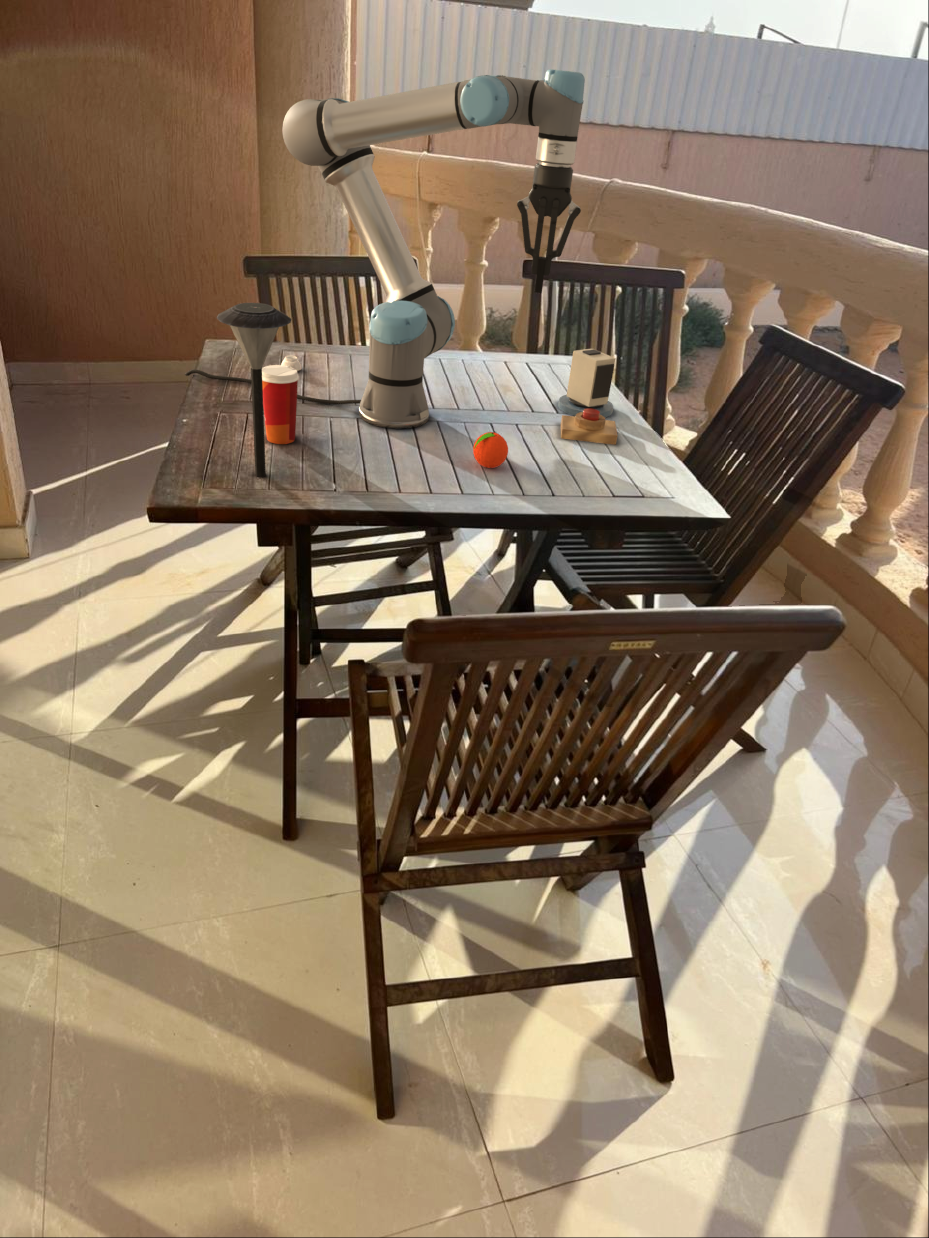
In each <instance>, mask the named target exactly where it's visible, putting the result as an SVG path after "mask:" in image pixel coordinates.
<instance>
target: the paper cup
mask: <svg viewBox="0 0 929 1238" xmlns="http://www.w3.org/2000/svg"><path fill="white" fill-rule="evenodd" d="M299 380H300V375H299V373H298V371H297V370H295V369H294V368H291V367H289V366H285V365H281V364H271V365H266V366H264V367H263V366H262V384H263V412H264V428H265V435H266V440H267V441H268V442H269V443H272V444H276V445H287V444H291V443H293V442H295V441H296V431H297V428H296V427H297V407H298V399H297V395H298V385H299V383H298V382H299Z"/></svg>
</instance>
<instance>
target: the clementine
mask: <svg viewBox="0 0 929 1238" xmlns="http://www.w3.org/2000/svg"><path fill="white" fill-rule="evenodd" d="M472 453H473V457H474V460H476V462H477V463H478V464H479V465H480V466H482V467H484V468H488V469H495V468H498V467H500V466H501V465H502V464H503V463H504V462H505V461H506V459H507V457H508V454H509V446H508V442H507V441H506V439H505V437H503V436H502V435H501V434H499V433H498V432H493V431H487V432H484V433H483V434H482V433H481V434H480V435H479V436H478V437H477V438H476V440H475V441H474V443H473V447H472Z"/></svg>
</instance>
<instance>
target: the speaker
mask: <svg viewBox="0 0 929 1238" xmlns="http://www.w3.org/2000/svg"><path fill="white" fill-rule="evenodd" d="M616 359H617V358H616V357H614V356H612V355H609V354H607V353H604V352H602V351H600V350H597V349H594V348H586V349H585V348H584V349H577V350H573V352H572V357H571V365H570V370H569V376H568V384H567V390H566V395H567V397H569V401H570V402H571V403H573V404H575V405H578V406H582V407H588V408H597V407H602V406H603V405H604V404H607V403H608V401H609V398H610V392H611V387H612V380H613V376H614V370H615V365H616Z"/></svg>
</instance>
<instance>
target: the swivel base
mask: <svg viewBox="0 0 929 1238" xmlns="http://www.w3.org/2000/svg"><path fill="white" fill-rule="evenodd" d="M557 407H558V408H559V410H560V411H561V412H564V413H565V414H568V415H569V416H575V417H576V414H577V413H579V412H583V410H584V409H587V408H588V407H582V406H578V405H575V404H573V403H571V402H570V401H569V397H567V394H564V395H562V396H560V397H559V398H558V403H557ZM591 409H596V410H598V411H599V412H600V415H602V416H603V417H605V418H609V417H610V416H612V415H613V411H614V404H613V403H612V402H611V401H610V400H608V403H607V404H604V405H603V406H602V407H597V408H591Z"/></svg>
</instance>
